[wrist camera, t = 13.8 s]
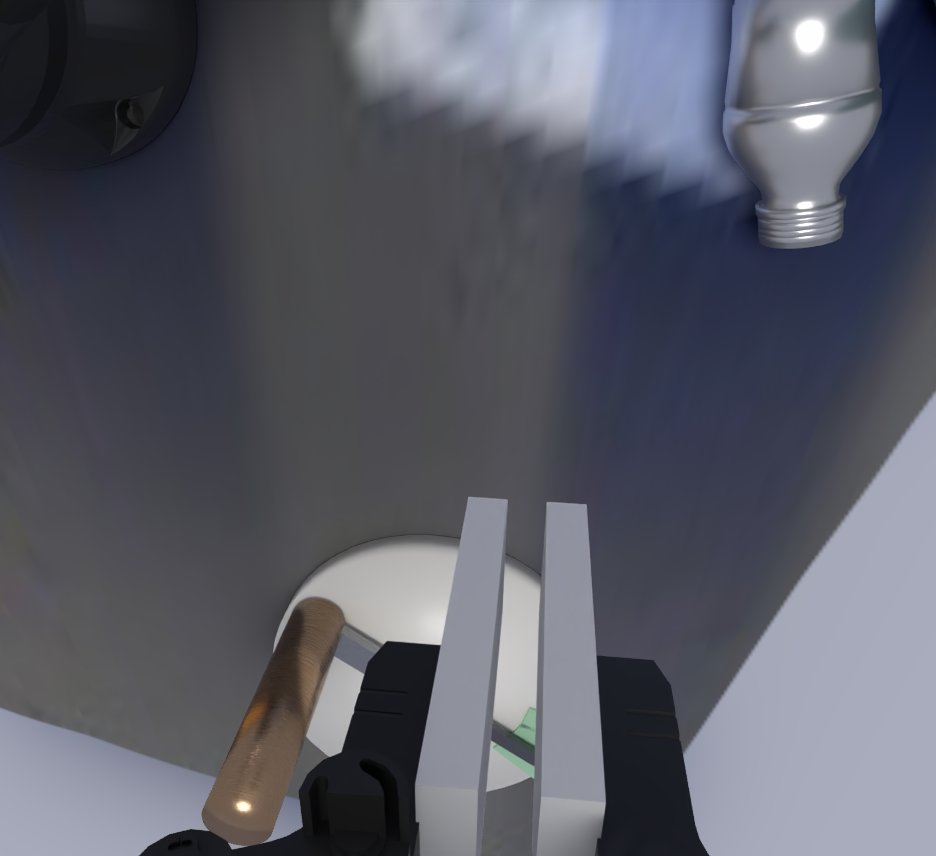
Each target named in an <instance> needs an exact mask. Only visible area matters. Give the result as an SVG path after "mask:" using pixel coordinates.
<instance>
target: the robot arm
mask: <svg viewBox="0 0 936 856" xmlns="http://www.w3.org/2000/svg"><path fill="white" fill-rule="evenodd" d="M196 46H197V19H196V8H195V2H194V0H0V159H3V160H7V161H10V162H14V163H18V164H21V165H25V166H29V167H34V168H40V169H47V170H77V169H84V168H90V167H94V166H98V165H101V164H105V163H108V162H111V161H115V160H118V159H121V158H123V157H126V156H128V155H130V154H132V153H134V152H136V151H138V150H140V149H141V148H143V147H144V146H146V145H147V144H148V143H150V142H151V141H152V140H153V139H155V138H156V137H157V136H158V135H159V134H160V133H161V132H162V131H163V130H164V129H165V127H166V126H167V125H168V124H169V122H170V121H171V120H172V118H173V117H174V115H175V114H176V112H177V110H178V109H179V107H180V105H181V103H182V101H183V99H184V96H185V94H186V92H187V89H188V86H189V83H190V80H191V76H192V72H193V67H194V62H195V55H196ZM507 503H508V499H494V498H479V497H468V502H467V508H466V513H465V518H464V524H463V529H462V535H461V540H460V545H459V551H458V556H457V561H456V567H455V572H454V578H453V583H452V588H451V594H450V599H449V604H448V610H447V615H446V621H445V626H444V631H443V637H442V642H441V645H433V644H421V643H408V642H396V641H386V642H385V644H384V645H383V646H382V647H381V648H380V649H379V650H378V651H377V653H376V654H375V655H374V656H373V657H372V658H371V659H370V660H369V661H368V664H367V667H366V670H365V674H364V677H363V680H362V684H361V687H360V693H359V694H358V697H357V701H356V704H355V707H354V714H352V718H351V721H350V724H349V728H348V731H347V734H346V738H345V741H344V745H343V748H342V751H341V753H338V754H336V755H334V756H331V757H329V758H327V759H324V760H323V761H322V762H320V763H319V764H318V765H317V766H316V767H315V768H314V769H313V770H311V771H310V772H309V773H308V774H307V776H306V778H305V780H304V782H303V784H302V786H301V788H300V790H299V798H300V806H301V814H302V823H303V827H302V828H301V829H299V830H297V831H295V832H294V833H292V834H290V835H288V836H286V837H283V838H280V839H277V840H274V841H271V842H266V843H262V844H257V845H252V846H247V847H243V848H238V849H233V850H232V849H231V847H230V846H229V844H228V842H227V841H226V840H225V839H223V838H221V837H220V836H218V835H216V834H215V833H213V832H211V831H203V830H194V829H190V830H186V831H181V832H177V833H173V834H169V835H167V836H166V837H164V838H162V839H160V840H159V841H157V842H155V843H153V844H152V845H150V846H148V847H147V849H145V850H144V852H142V853H141V855H139V856H481V845H482V833H483V822H484V811H485V800H486V789H487V778H488V767H489V756H490V745H491V734H492V723H493V712H494V701H495V690H496V679H497V668H498V657H499V646H500V635H501V624H502V613H503V593H504V571H505V548H506V525H507ZM532 856H709V854H708V853H707V851H706V849H705V848H704V846H703V844H702V843H701V841H700V839H699V836H698V833H697V829H696V826H695V821H694V816H693V810H692V804H691V798H690V792H689V787H688V781H687V775H686V770H685V764H684V758H683V753H682V747H681V741H679V730H678V724H677V718H675V707H674V701H673V695H672V690H671V685H670V683H669V682H668V681H667V679H666V678H665V676H664V675H663V673H662V672H661V671H660V669H659V668H658V666H657V665H656V663H655V662H654V660H644V659H632V658H619V657H607V656H596V643H595V627H594V612H593V596H592V581H591V566H590V550H589V535H588V519H587V505H586V504H571V503H556V502H547V506H546V520H545V534H544V548H543V562H542V577H541V591H540V605H539V627H538V662H537V697H536V732H535V767H534V802H533V837H532Z"/></svg>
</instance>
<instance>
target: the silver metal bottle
mask: <svg viewBox="0 0 936 856" xmlns="http://www.w3.org/2000/svg"><path fill="white" fill-rule="evenodd" d="M880 82H881V81H880V70H879V59H878V48H877V37H876V25H875V0H735V4H734V5H733V7H732V42H731V51H730V60H729V68H728V77H727V86H726V94H725V103H724V104H725V105H726V107H725V111H724V112H723V135H724V138H725V141H726V144H727V147H728V150H729V153H730V154H731V155H732V157H733V158H734V160H735V161H736V162H737V164H738V165H739V167H740V168H741V169H742V171H743V172H744V173H745V174H746V175H747V176H748V178H749V179H750V180H751V181H752V182H753V183H754V184H755V185H756V186H757V188H758V189H759V190H760V192H761V197H762V200H760V201H758V202H757V203H756V204H755V214H756V216H758V238H759V242H760V244H762V245H764V246H766V247H771V248H784V249H790V248H805V247H813V246H819V245H823V244H827V243H831V242H833V241H836V240H838V239H839V238H841V237H842V232H843V209H844V208H845V207H846V195H845V194H844V193H841V192H839V187H840V182H841V181H842V179H843V178H844V177H845V176H846V174H847V173H848V172H849V170H850V169H851V168H852V166H853V165H854V164H855V162H856V161H857V160H858V158H859V157H860V156H861V154H862V152H863V151H864V149H865V148H866V146H867V144H868V143H869V141H870V140H871V138H872V136H873V135H874V133H875V130H876V127H877V124H878V121H879V118H880V115H881V113H882V90H881V88H879V83H880Z"/></svg>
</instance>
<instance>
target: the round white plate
mask: <svg viewBox="0 0 936 856" xmlns="http://www.w3.org/2000/svg"><path fill="white" fill-rule="evenodd" d="M460 540H461V539H458V538H453V537H445V536H437V535H402V536H392V537H386V538H382V539H377V540H372V541H368V542H365V543H363V544H360V545H357V546H354V547H351V548H349V549H347V550H345V551H343V552H341V553H339V554H337V555H335V556H333V557H332V558H330V559H329V560H328V561H326V562H325V563H323V564H322V565H320V566H319V567H318V568H317V569H316V570H315V571H314V572H312V573H311V574H310V575H309V576H308V577H307V578H306V579H305V581H304V582H303V583H302V585H301V586H300V587H299V588H298V590H297V591H296V593H295V595H294V596H293V598H292V600H291V602H290V604H289V606H288V608H287V610H286V612H285V615H284V617H283V619H282V621H281V623H280V626H279V629H278V632H277V635H276V638H275V643H274V650H275V648H276V646H277V644H278V642H279V639H280V637H281V635H282V633H283V631H284V628H285V626H286V624H287V622H288V619H289V617H290V615H291V613H292V611H293V608H294V607H295V606H296V605H297V604H298V603H299V602H301V601H303V600H306V599H322V600H325V601H328V602H330V603H332V604H333V605H335V606H336V607H337V608H338V609H339V610H340V611H341V613H342V615H343V617H344V620H345V626H347V627H348V628H350V629H352V630H353V631H355V632H357V633H358V634H360V635H361V636H363V637H365V638H366V639H368V640H370V641H371V642H373V643H375V644H376V645H378V646H379V647H382V646H383V645H384V644H385V642H386V641H396V642H408V643H421V644H433V645H441V642H442V637H443V631H444V626H445V621H446V615H447V610H448V604H449V599H450V594H451V588H452V583H453V578H454V572H455V567H456V561H457V556H458V551H459V545H460ZM540 591H541V576H540V575H539V574H538V573H536V572H535V571H534V570H532V569H531V568H529V567H528V566H526V565H524V564H523V563H521V562H520V561H518V560H516V559H514V558H512V557H510V556H508V555H506V554H505V571H504V593H503V613H502V624H501V635H500V646H499V657H498V668H497V679H496V690H495V701H494V712H493V723H494V724H496V725H498V726H499V727H501V728H502V729H504V730H506V731H507V732H509V733H511V734H512V735H514V736H516V737H517V738H519V739H520V740H522V741H524V742H525V743H527V744H529V745H530V746H532V747H534V748H535V732H536V697H537V662H538V627H539V605H540ZM274 650H273V653H274ZM363 677H364V674H363V673H361V672H360V671H358V670H356V669H355V668H353V667H351V666H350V665H348V664H346V663H345V662H343V661H341V660H340V659H338V658H336V657H335V656H334V658H333V661H332V664H331V667H330V670H329V673H328V675H327V678H326V681H325V684H324V687H323V690H322V693H321V695H320V698H319V701H318V704H317V707H316V710H315V712H314V715H313V718H312V721H311V724H310V727H309V729H308V732H307V735H306V736H307V737H308V739H309V740H310V741H311V742H312V743H313V744H315V745H316V746H317V747H318V748H319V749H320V750H322V751H323V752H324V753H325V754H326V755H328V756H329V757H331V756H334V755H336V754H338V753H341V751H342V748H343V745H344V741H345V738H346V734H347V731H348V728H349V724H350V721H351V718H352V714H354V707H355V704H356V701H357V697H358V694H359V693H360V687H361V684H362V680H363ZM529 777H532V778H534V766H532V765H531V764H529V763H527V762H526V761H524V760H522V759H521V758H519V757H517V756H516V755H514V754H512V753H511V752H509V751H507V750H506V749H504V748H503V747H501V746H499V745H498V744H496V743H494V742H493V741H491V745H490V756H489V767H488V778H487V789H486V792H488V791H492V790H496V789H500V788H504V787H507V786H510V785H513V784H515V783H518V782H521V781H523V780H525V779H527V778H529Z"/></svg>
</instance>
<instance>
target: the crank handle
mask: <svg viewBox="0 0 936 856" xmlns="http://www.w3.org/2000/svg"><path fill="white" fill-rule="evenodd" d="M380 648H381V647H379V646H378V645H376V644H375V643H373V642H371V641H370V640H368V639H366V638H365V637H363V636H361V635H360V634H358V633H357V632H355V631H353V630H352V629H350V628H348V627H347V626H345V620H344V617H343V615H342V613H341V611H340V610H339V609H338V608H337V607H336V606H335V605H333V604H332V603H330V602H328V601H325V600H322V599H306V600H303V601H301V602H299V603H298V604H297V605H296V606H295V607H294V608H293V611H292V613H291V615H290V617H289V619H288V622H287V624H286V626H285V628H284V631H283V633H282V635H281V637H280V639H279V642H278V644H277V646H276V648H275V650H274V653H273V655H272V657H271V659H270V662H269V664H268V666H267V668H266V670H265V673H264V675H263V677H262V679H261V681H260V684H259V686H258V688H257V690H256V692H255V695H254V697H253V699H252V701H251V704H250V706H249V708H248V710H247V712H246V715H245V717H244V719H243V721H242V723H241V726H240V728H239V730H238V732H237V735H236V737H235V739H234V741H233V743H232V746H231V748H230V750H229V752H228V754H227V757H226V759H225V761H224V763H223V766H222V768H221V770H220V772H219V774H218V777H217V779H216V781H215V783H214V785H213V788H212V790H211V792H210V794H209V797H208V799H207V801H206V803H205V806H204V808H203V810H202V819H203V822H204V824H205V826H206V827H207V829H208V830H209V831H211V832H213V833H215V834H216V835H218V836H220V837H221V838H223V839H225V840H226V841H227V842H228V843H232V844H236V845H242V846H251V845H257V844H260V843H262V842H264V841H266V840H267V839H268V838H269V837H270V836H271V834H272V832H273V829H274V826H275V823H276V820H277V817H278V814H279V812H280V809H281V806H282V803H283V800H284V797H285V795H286V792H287V789H288V786H289V783H290V780H291V778H292V775H293V772H294V769H295V766H296V763H297V761H298V758H299V755H300V752H301V749H302V746H303V744H304V741H305V738H306V735H307V732H308V729H309V727H310V724H311V721H312V718H313V715H314V712H315V710H316V707H317V704H318V701H319V698H320V695H321V693H322V690H323V687H324V684H325V681H326V678H327V675H328V673H329V670H330V667H331V664H332V661H333V658H334V656H335V657H336V658H338V659H340V660H341V661H343V662H345V663H346V664H348V665H350V666H351V667H353V668H355V669H356V670H358V671H360V672H361V673H363V674H365V670H366V667H367V664H368V661H369V660H370V659H371V658H372V657H373V656H374V655H375V654H376V653H377V651H378V650H379V649H380ZM491 741H493V742H494V743H496V744H498V745H499V746H501V747H503V748H504V749H506V750H507V751H509V752H511V753H512V754H514V755H516V756H517V757H519V758H521V759H522V760H524V761H526V762H527V763H529V764H531V765H532V766H534V767H535V748H534V747H532V746H530V745H529V744H527V743H525V742H524V741H522V740H520V739H519V738H517V737H516V736H514V735H512V734H511V733H509V732H507V731H506V730H504V729H502V728H501V727H499V726H498V725H496V724H494V723H492V734H491Z"/></svg>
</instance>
